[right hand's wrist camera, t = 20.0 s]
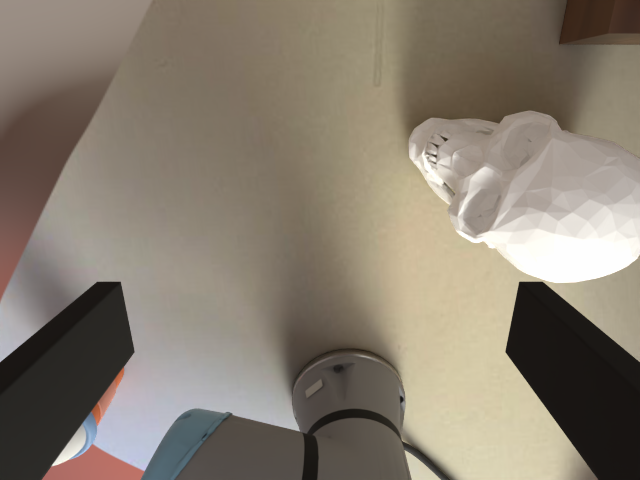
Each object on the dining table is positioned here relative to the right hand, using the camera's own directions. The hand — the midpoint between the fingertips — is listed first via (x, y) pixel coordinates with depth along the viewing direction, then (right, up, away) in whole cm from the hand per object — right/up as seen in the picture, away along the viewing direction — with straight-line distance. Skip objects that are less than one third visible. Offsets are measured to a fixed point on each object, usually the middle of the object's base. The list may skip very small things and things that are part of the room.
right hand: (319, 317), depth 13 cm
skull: (+19, +10, +30) cm, 37 cm away
